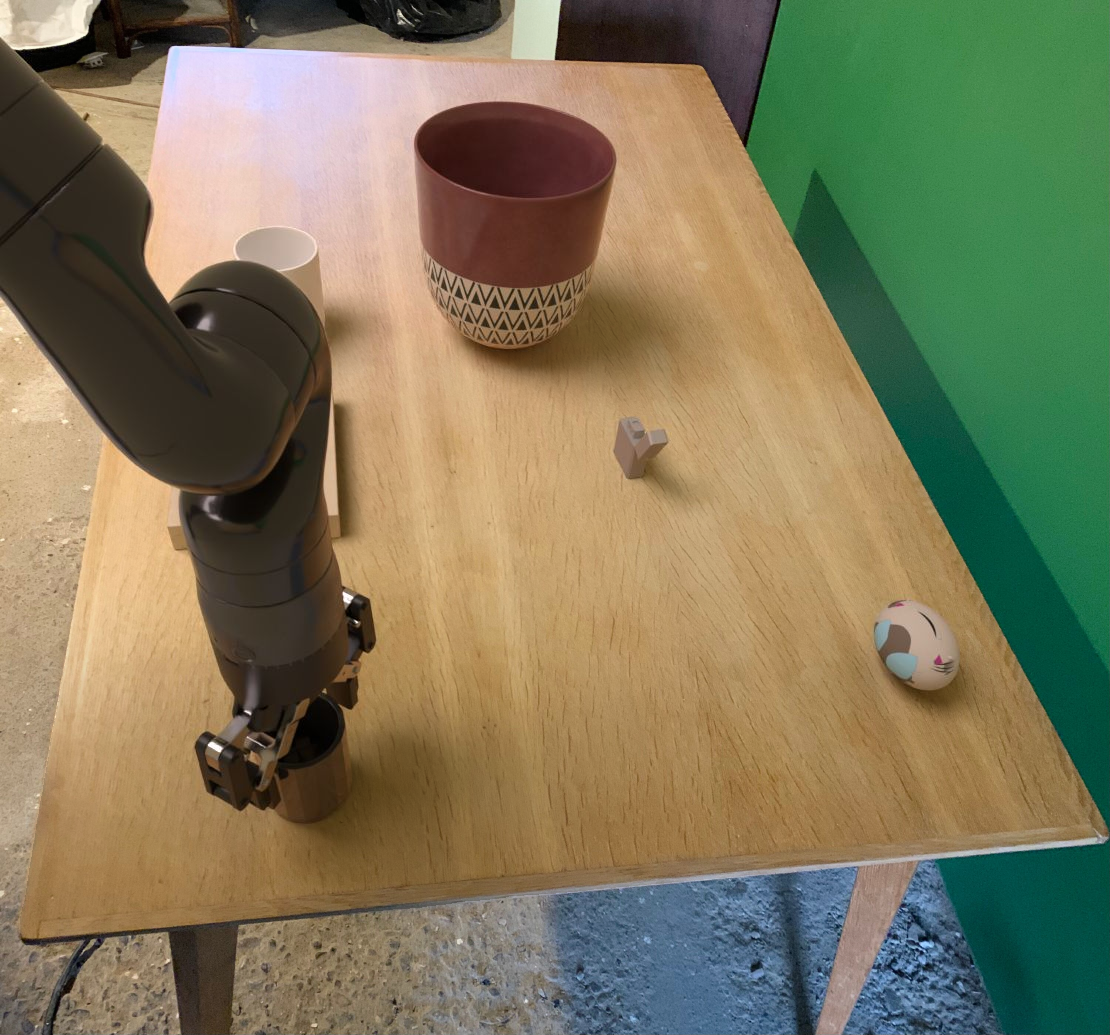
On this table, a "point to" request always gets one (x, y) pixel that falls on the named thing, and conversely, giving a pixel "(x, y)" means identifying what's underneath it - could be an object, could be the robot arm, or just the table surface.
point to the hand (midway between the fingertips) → (305, 748)
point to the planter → (510, 217)
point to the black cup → (314, 765)
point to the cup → (286, 258)
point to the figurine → (916, 645)
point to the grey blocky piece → (636, 446)
